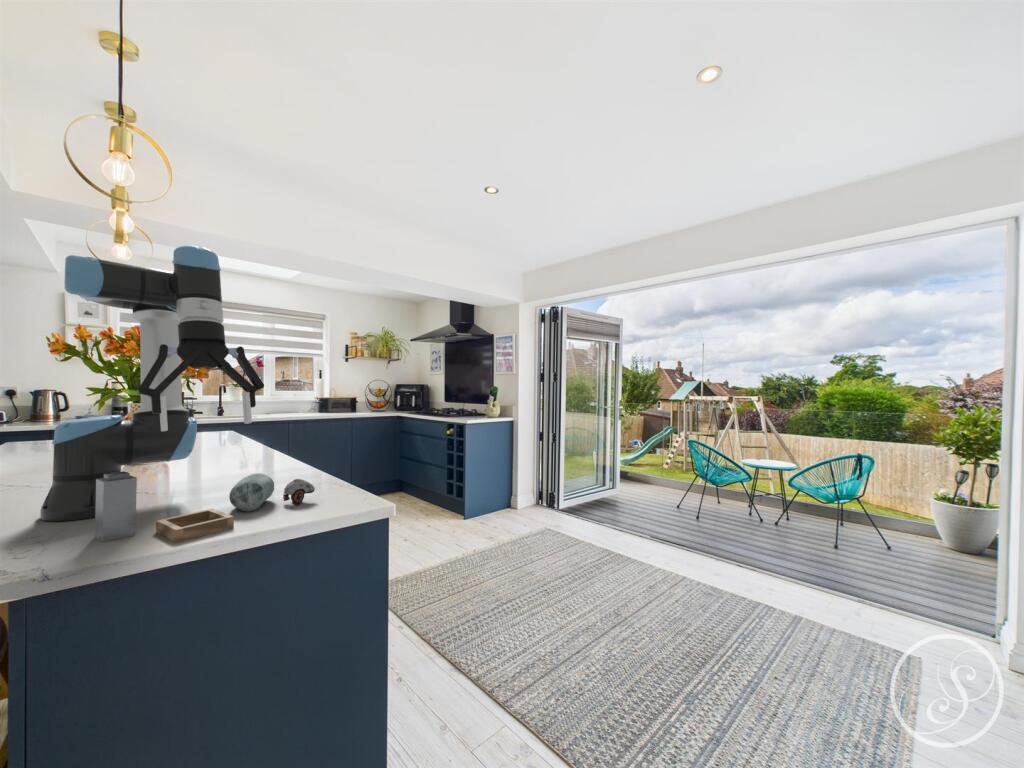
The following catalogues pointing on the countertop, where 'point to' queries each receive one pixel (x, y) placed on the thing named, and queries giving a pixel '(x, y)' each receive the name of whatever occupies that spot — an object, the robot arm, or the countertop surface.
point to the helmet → (297, 490)
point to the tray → (194, 525)
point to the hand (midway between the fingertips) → (208, 427)
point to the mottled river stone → (251, 492)
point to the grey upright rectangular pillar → (115, 506)
